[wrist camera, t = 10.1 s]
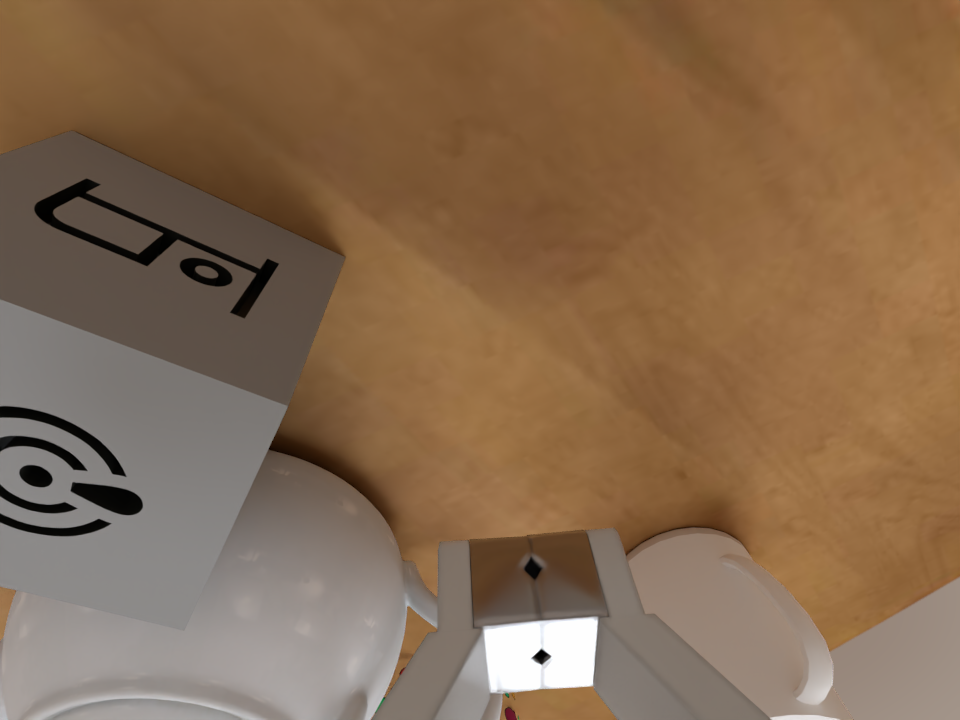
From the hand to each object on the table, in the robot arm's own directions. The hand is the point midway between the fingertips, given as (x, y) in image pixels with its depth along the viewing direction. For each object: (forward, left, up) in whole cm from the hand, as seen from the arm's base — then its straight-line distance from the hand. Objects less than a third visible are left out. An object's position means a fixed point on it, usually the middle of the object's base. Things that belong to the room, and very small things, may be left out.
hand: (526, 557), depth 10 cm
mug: (+20, +11, -15) cm, 28 cm away
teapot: (+16, -13, -15) cm, 26 cm away
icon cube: (+2, -12, -15) cm, 20 cm away
